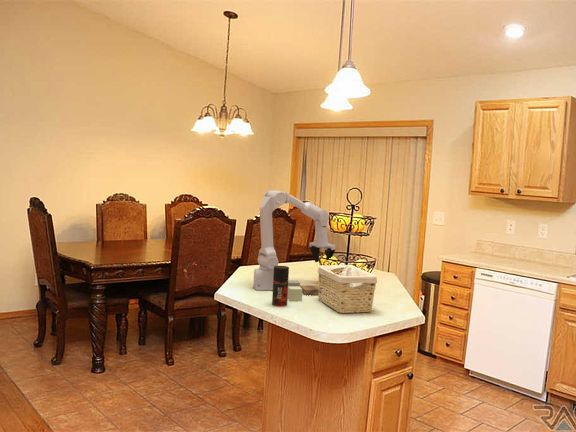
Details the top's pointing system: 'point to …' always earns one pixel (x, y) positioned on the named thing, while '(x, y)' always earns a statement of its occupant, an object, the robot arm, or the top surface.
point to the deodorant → (280, 286)
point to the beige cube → (294, 293)
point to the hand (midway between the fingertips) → (322, 262)
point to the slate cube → (293, 283)
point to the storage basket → (346, 288)
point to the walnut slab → (310, 290)
